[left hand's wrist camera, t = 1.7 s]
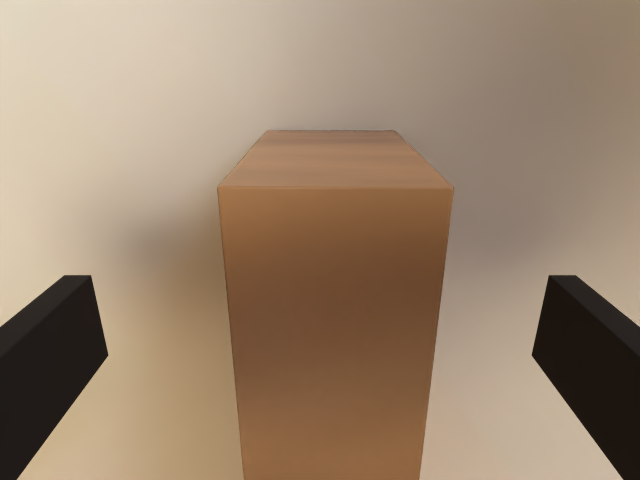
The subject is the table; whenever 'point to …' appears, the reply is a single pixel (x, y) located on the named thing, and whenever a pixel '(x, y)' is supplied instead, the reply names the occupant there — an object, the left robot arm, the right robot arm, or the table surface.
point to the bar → (333, 302)
